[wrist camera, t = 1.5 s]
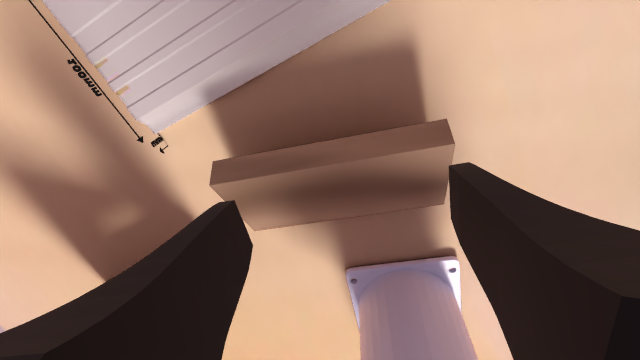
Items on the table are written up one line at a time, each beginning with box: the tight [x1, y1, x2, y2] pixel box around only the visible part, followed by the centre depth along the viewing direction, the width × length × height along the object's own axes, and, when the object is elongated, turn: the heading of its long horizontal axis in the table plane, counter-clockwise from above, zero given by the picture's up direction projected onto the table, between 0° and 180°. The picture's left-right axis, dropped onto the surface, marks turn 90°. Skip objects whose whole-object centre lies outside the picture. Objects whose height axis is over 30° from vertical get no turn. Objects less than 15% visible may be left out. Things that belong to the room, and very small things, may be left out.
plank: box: [209, 119, 455, 231], centre depth 19 cm, size 6×12×2 cm
